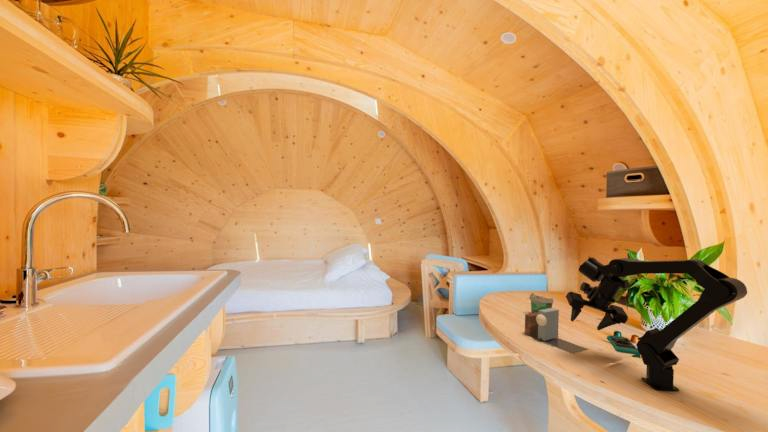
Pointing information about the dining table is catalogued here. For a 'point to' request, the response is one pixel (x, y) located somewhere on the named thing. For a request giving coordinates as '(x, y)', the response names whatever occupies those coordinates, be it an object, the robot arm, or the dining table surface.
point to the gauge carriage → (547, 323)
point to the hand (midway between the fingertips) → (584, 325)
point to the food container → (540, 303)
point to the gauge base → (560, 344)
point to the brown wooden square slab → (531, 324)
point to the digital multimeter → (623, 345)
